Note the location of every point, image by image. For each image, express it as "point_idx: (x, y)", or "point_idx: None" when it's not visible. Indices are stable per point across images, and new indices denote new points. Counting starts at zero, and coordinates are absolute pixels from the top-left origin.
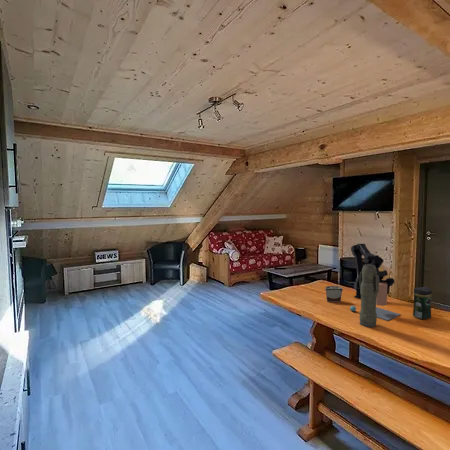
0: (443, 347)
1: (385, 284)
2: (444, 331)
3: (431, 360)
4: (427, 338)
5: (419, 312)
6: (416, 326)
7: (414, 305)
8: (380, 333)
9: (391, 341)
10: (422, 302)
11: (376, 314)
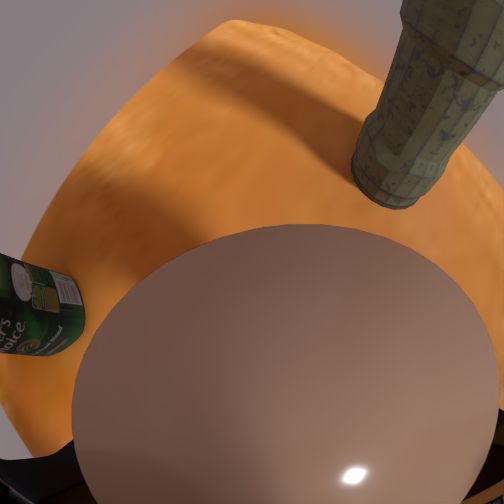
0: (174, 62)
1: (155, 326)
2: (79, 162)
3: (248, 23)
4: (179, 92)
5: (55, 278)
6: (145, 183)
7: (38, 312)
8: (343, 100)
9: (316, 63)
10: (2, 255)
11: (368, 115)
